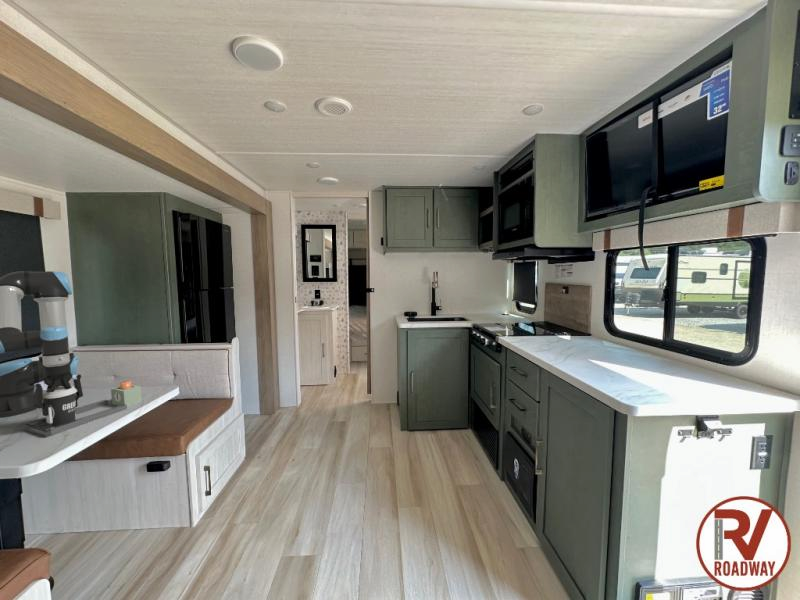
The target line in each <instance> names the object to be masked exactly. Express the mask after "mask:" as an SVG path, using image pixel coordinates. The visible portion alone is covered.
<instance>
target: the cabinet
mask: <svg viewBox="0 0 800 600" xmlns="http://www.w3.org/2000/svg"><path fill="white" fill-rule="evenodd" d="M141 389H142V387H141V386H140V385H135V384H131V388H128V389H124V390H121V389H120V385H119V386H115V387H112V388H110V394H111V395H110V396H111V404H112V405H114V406H120V405H123V404H126V405H127V407H129V406H132V405H135V404H138V403H141V402H143V401H142V390H141Z"/></svg>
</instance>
